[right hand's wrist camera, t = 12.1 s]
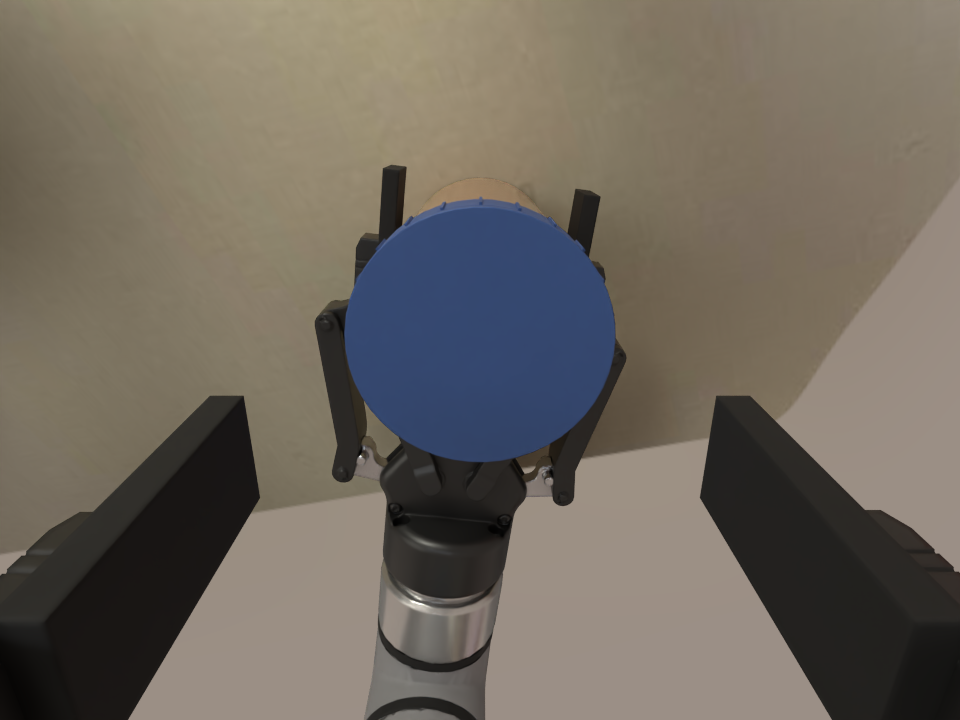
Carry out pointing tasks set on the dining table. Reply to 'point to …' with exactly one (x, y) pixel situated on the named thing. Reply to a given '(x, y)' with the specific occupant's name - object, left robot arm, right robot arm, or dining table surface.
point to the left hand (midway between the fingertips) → (491, 180)
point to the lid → (480, 331)
